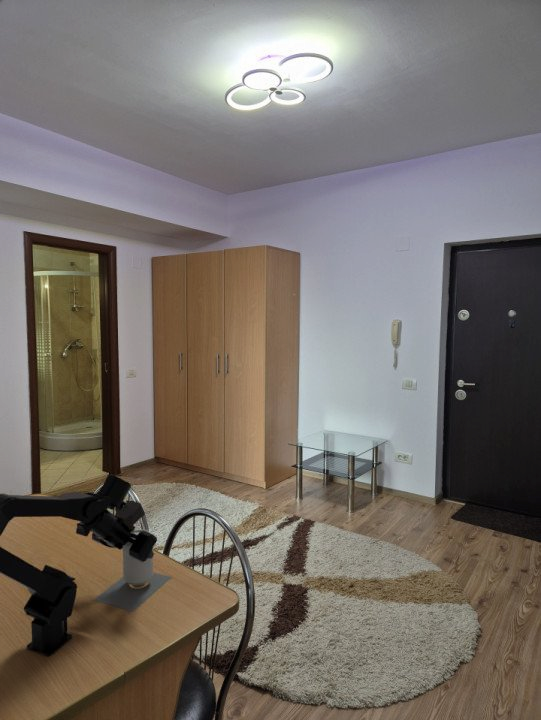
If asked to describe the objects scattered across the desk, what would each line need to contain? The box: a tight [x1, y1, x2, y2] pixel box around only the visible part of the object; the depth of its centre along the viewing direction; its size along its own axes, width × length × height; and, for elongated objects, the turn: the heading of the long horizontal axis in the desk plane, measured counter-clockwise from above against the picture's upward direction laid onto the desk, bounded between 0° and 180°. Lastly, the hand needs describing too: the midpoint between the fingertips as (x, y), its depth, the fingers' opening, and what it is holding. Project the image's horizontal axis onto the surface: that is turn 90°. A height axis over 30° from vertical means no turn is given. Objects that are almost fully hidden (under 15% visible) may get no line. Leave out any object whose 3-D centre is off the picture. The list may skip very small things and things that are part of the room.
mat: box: [93, 571, 173, 612], centre depth 120 cm, size 16×12×1 cm
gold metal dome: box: [129, 581, 149, 589], centre depth 122 cm, size 5×5×1 cm
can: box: [122, 528, 154, 585], centre depth 121 cm, size 8×8×12 cm
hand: (142, 551), depth 122 cm, fingers closed on can, 7 cm apart
